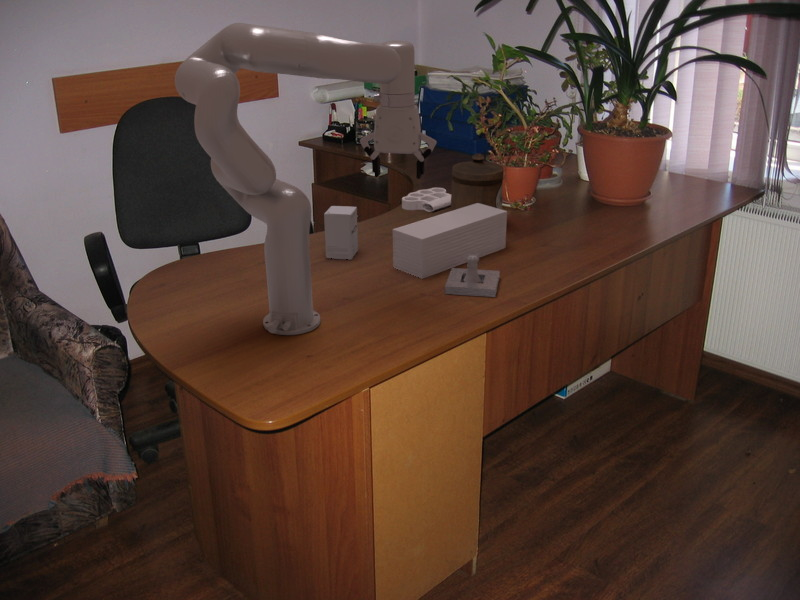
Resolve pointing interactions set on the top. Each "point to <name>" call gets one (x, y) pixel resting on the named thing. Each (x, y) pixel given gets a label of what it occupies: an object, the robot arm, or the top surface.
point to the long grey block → (448, 239)
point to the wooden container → (476, 183)
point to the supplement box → (341, 232)
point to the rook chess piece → (472, 269)
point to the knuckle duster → (427, 200)
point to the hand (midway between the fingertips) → (398, 176)
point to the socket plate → (472, 289)
